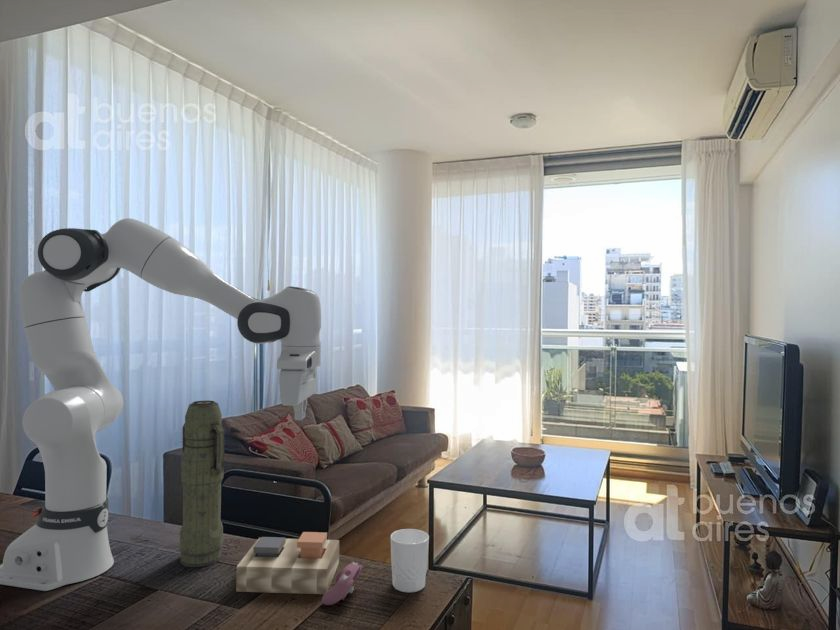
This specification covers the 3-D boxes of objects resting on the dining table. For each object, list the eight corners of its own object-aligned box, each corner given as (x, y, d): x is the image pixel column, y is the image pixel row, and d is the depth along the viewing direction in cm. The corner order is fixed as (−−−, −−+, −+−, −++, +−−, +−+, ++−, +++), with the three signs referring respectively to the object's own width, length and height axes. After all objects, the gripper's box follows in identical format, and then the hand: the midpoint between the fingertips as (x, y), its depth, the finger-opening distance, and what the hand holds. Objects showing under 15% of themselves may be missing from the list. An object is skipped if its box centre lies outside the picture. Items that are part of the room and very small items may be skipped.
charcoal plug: (253, 579, 115) (253, 546, 115) (260, 567, 120) (261, 536, 120) (278, 580, 115) (278, 547, 115) (284, 568, 120) (285, 537, 120)
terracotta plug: (296, 574, 115) (297, 541, 115) (302, 563, 120) (303, 531, 120) (321, 575, 114) (322, 542, 114) (326, 563, 120) (327, 532, 120)
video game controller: (339, 616, 105) (355, 585, 104) (318, 603, 106) (335, 572, 105) (354, 591, 115) (369, 562, 114) (335, 579, 115) (350, 550, 115)
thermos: (195, 546, 131) (197, 397, 131) (235, 555, 127) (238, 401, 126) (165, 561, 123) (167, 402, 123) (207, 571, 118) (209, 407, 118)
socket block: (236, 591, 110) (236, 566, 110) (258, 560, 124) (259, 537, 124) (326, 594, 110) (327, 569, 110) (338, 562, 124) (339, 540, 124)
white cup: (391, 575, 119) (392, 528, 119) (428, 576, 118) (429, 529, 118) (388, 593, 111) (388, 543, 111) (427, 595, 110) (428, 544, 110)
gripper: (298, 354, 137) (297, 410, 138) (274, 361, 117) (273, 427, 117) (323, 355, 137) (322, 411, 137) (304, 362, 117) (303, 428, 117)
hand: (299, 419), depth 127 cm, fingers closed
